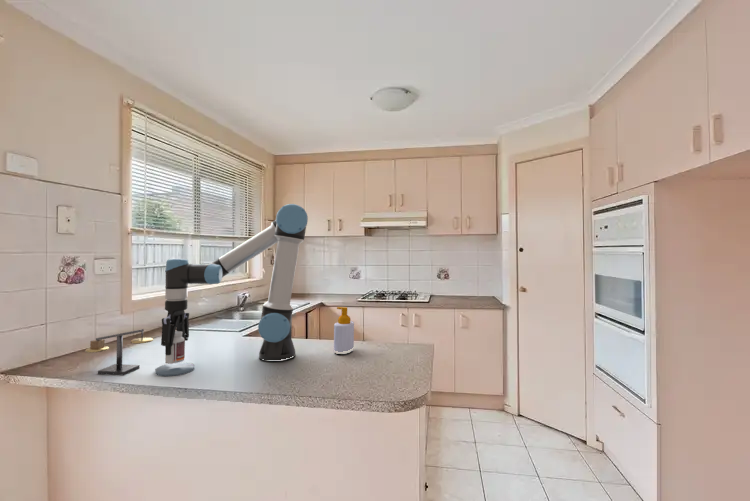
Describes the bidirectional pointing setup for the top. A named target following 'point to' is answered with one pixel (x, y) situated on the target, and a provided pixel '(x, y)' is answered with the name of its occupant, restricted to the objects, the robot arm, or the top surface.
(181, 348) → the pill bottle
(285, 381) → the top surface
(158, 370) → the dish
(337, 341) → the soap bottle
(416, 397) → the top surface
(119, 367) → the balance
